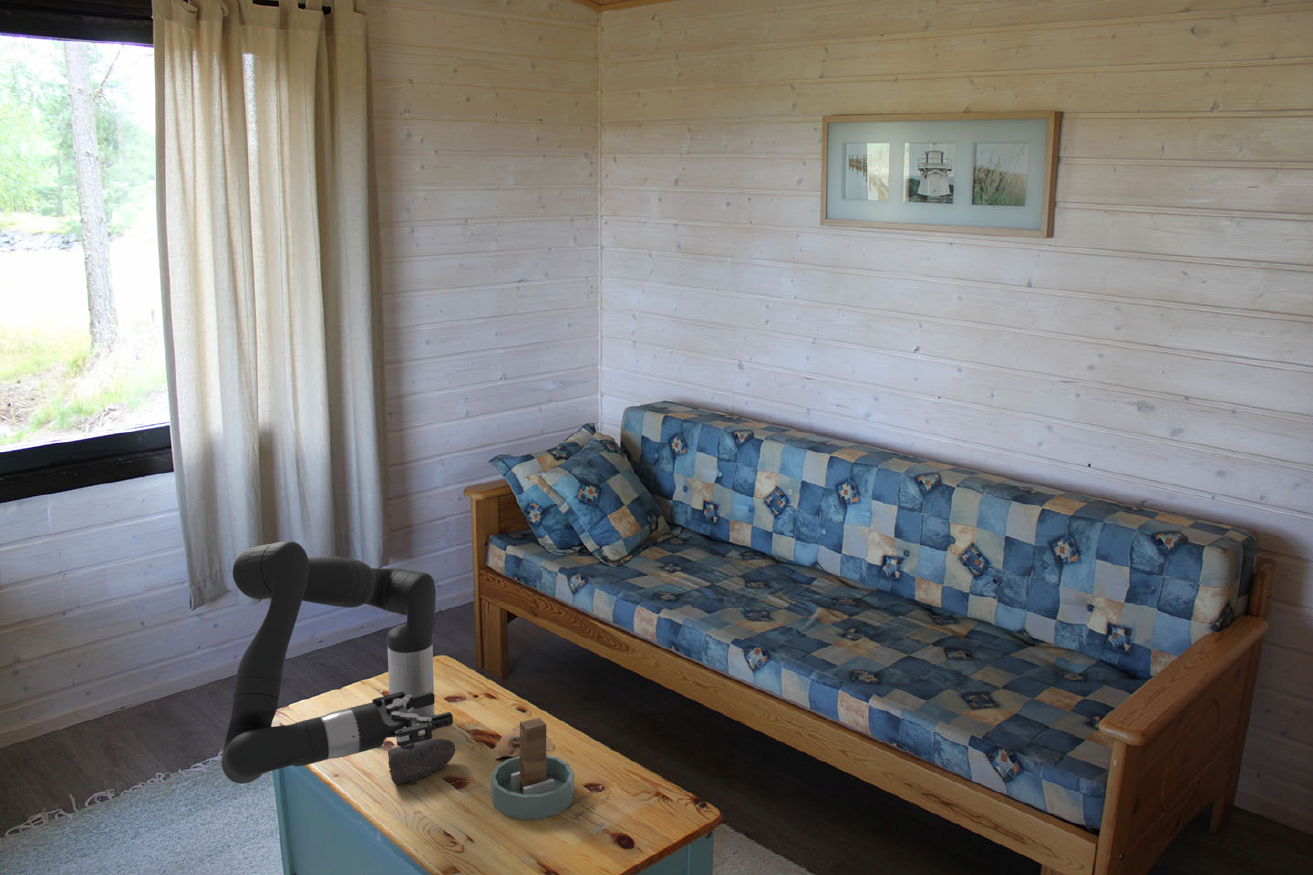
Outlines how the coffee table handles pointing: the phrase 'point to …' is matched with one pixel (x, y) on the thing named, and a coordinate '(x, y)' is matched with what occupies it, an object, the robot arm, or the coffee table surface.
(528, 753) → the tall wooden post
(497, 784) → the slotted round holder
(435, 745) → the perforated stone tool
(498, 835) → the coffee table surface
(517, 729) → the clay slab
